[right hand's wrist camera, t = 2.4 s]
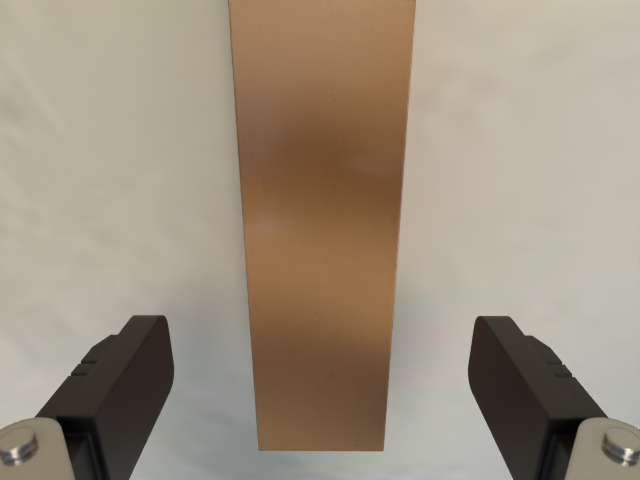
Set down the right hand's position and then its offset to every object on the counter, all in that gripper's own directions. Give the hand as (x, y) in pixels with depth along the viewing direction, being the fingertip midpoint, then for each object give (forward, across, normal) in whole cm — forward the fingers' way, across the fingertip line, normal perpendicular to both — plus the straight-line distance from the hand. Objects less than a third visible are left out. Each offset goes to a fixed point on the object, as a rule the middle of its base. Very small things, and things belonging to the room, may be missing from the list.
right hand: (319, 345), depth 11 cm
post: (+11, 0, -28) cm, 30 cm away
